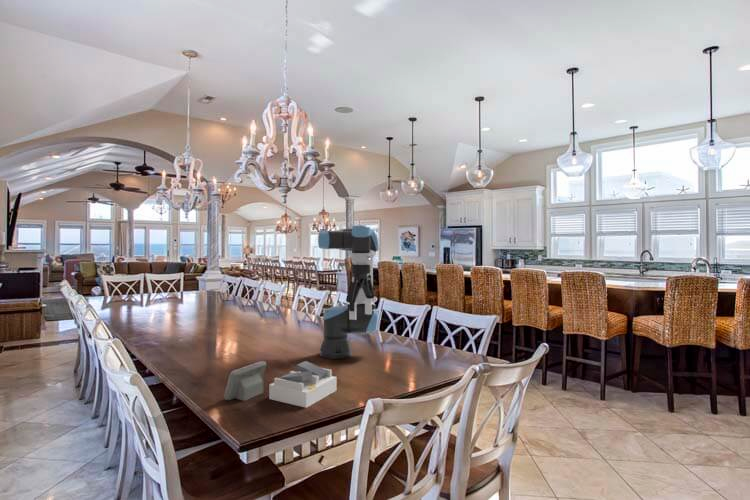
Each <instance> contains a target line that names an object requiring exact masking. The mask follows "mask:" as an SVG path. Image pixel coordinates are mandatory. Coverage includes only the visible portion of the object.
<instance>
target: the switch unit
mask: <svg viewBox="0 0 750 500" xmlns="http://www.w3.org/2000/svg"><path fill="white" fill-rule="evenodd" d="M322 368H323V369H325V370H327V375H326V376H325V377H323V378H321V379H319V376H317V375H312V377H311V378H309V379H307V380H305V381H303V382H295V381H290V380H285V379H280V377H275V378H274V379H273V382H272V383H270V384H268V385H269V386H268V387H269V390H268V391H269V392H268V395H269V397H268V398H269V399H268V400H271V401H272V400H273V401H276V402H281V403H285V404H290V405H293V406H297V407H302V408H306V409H307V408H308V407H310V406H312V405H314V404H316V403H317V402H319V401H320V400H322V399H324V398H326V397H328V396H330V395H331V394H332V393H335V392H337V385H338V384H337V383H338V380H337V379H338V378H337V377H338V376H334V375H333V371H332V369H331V368H324V367H322ZM298 372H300V371H297V370H295V371H294V370H291V371H289V373H298ZM289 373H288V374H289Z"/></svg>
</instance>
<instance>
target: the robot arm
mask: <svg viewBox="0 0 750 500" xmlns="http://www.w3.org/2000/svg"><path fill="white" fill-rule="evenodd" d="M317 238H318V239H317V242H318V243H317V244H318V248H319V249H323V250H340V251H346V252H351V274H353V275H354V276H350V277H349V278H350V280H349V286H348V290H347V295H346V297H345V298H346V299H345V301H346V303H349V305H348V306H349V307H348V306H347V305H337V306H331V307H328V308H326V309H325V310H324V311H323V317H322V320H323V338H322V339H323V340H322V343H321V346H320V348H319V356H320V357H322V358H325V359H331V360H332V359H334V360H335V359H344V358H348V357H350V356H351V355H352V349H351V345H350V343H349V340H348V338H349V337H348V334H365V335H366V334H374V333H376V331H377V328H378V320H379V309H378V308H377V307H376V306H377V305H376V304H375V302H374V301H373V300H374V299H375V291H374V282H373V281H374V274H373V273H374V257H375V256H376V255H377V252H378V251H380V250H379V248H380V247H379V238H378V232H377V230H376V229H375V228H371V226H370V225H363V224H358V225H353V226H352V227H351V228H342V229H337V230H323V231H319V232H318V237H317Z"/></svg>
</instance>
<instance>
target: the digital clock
mask: <svg viewBox="0 0 750 500" xmlns="http://www.w3.org/2000/svg"><path fill="white" fill-rule="evenodd" d="M266 367H267V362H266V361H263V360H262V361H257V362H254V363H251V364H250V365H246V366H243V367H240V368H238V369H234V370H232V371H231V372H230V374H229V377H228V381H227V383H226V384H227V385H226V388H225V392H224V395H223V396H224V397H223V399H224V400H225V401H231V400H235V398H236V400H239V401H244V402H245V401H248V400H250V399H252V398H255V397H257V396H259V395H261V394H263V393H264V379H263V378H264V374H265V371H266Z"/></svg>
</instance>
